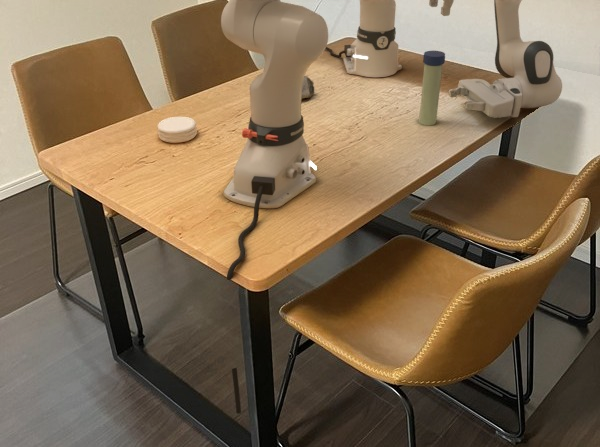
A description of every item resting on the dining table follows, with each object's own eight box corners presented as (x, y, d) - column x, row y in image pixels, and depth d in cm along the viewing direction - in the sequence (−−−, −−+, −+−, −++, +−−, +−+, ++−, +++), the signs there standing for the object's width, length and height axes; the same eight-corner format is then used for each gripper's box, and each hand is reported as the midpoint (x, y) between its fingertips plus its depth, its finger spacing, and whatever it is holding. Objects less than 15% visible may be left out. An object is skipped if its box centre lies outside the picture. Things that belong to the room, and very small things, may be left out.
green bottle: (427, 117, 172) (433, 51, 162) (439, 122, 168) (447, 55, 159) (415, 121, 169) (421, 55, 159) (428, 126, 166) (435, 59, 156)
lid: (432, 57, 163) (433, 49, 162) (448, 62, 160) (449, 54, 158) (418, 62, 160) (419, 53, 159) (434, 67, 157) (435, 58, 156)
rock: (319, 95, 186) (318, 72, 182) (294, 104, 180) (293, 80, 176) (285, 84, 195) (284, 62, 192) (261, 93, 189) (259, 70, 186)
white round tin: (160, 128, 167) (158, 116, 165) (197, 126, 168) (196, 114, 166) (157, 144, 158) (155, 132, 157) (196, 142, 159) (195, 129, 157)
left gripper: (419, -56, 154) (414, 1, 161) (446, -43, 137) (439, 21, 144) (443, -57, 155) (437, 0, 162) (473, -44, 138) (465, 20, 145)
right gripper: (487, 71, 177) (442, 75, 174) (525, 96, 160) (476, 102, 158) (484, 92, 180) (440, 97, 178) (521, 119, 164) (472, 125, 161)
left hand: (438, 10), depth 153 cm, fingers open, 8 cm apart
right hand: (457, 99), depth 168 cm, fingers open, 8 cm apart
